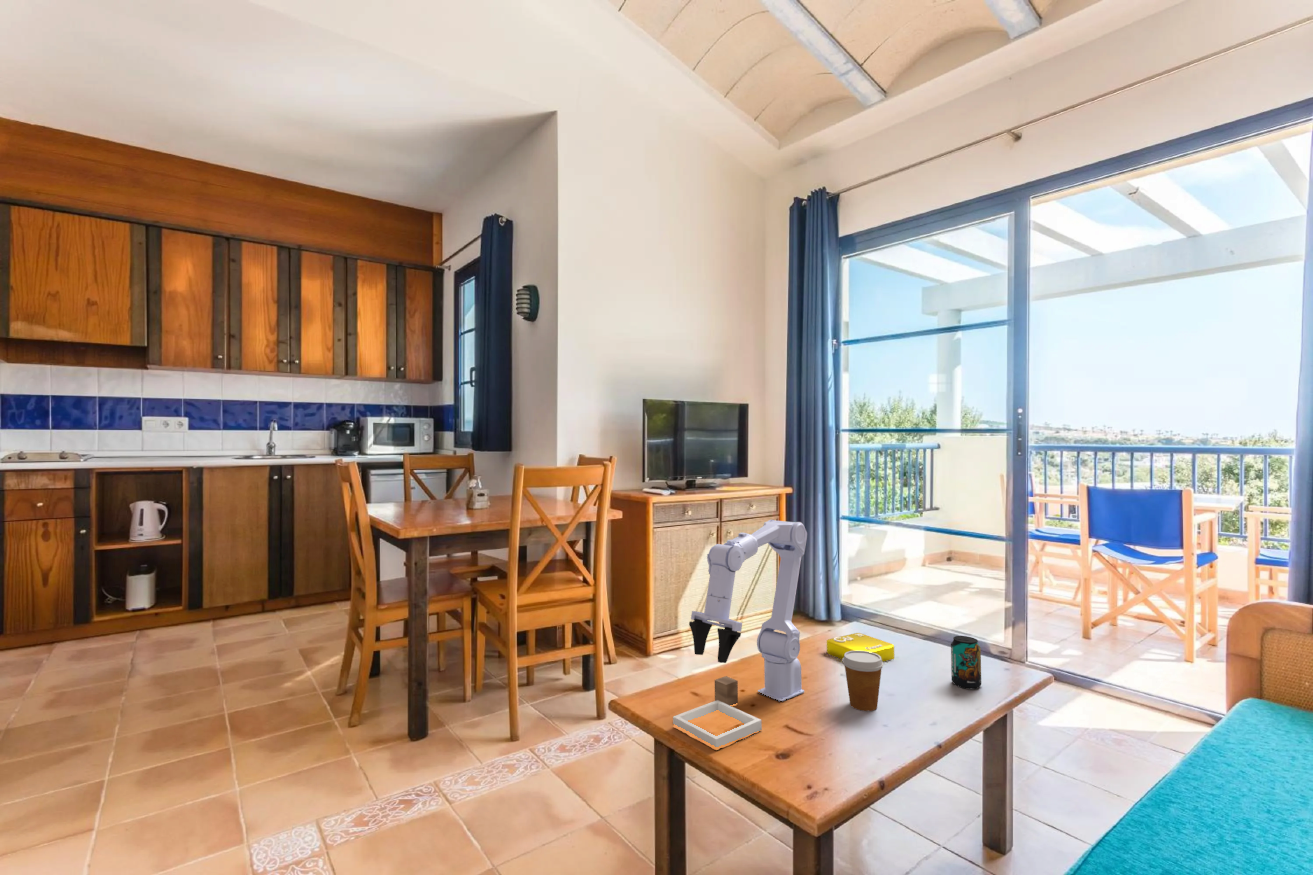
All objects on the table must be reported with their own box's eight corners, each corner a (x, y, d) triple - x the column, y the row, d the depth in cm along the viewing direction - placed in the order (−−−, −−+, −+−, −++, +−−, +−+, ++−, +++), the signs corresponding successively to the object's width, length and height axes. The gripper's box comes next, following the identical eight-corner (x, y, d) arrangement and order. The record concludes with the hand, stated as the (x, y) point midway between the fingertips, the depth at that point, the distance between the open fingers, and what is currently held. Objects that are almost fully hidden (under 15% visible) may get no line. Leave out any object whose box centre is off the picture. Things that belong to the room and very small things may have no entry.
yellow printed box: (861, 669, 173) (861, 652, 173) (823, 653, 186) (823, 638, 186) (897, 659, 180) (897, 643, 180) (858, 645, 194) (858, 630, 194)
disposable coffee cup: (857, 716, 142) (857, 664, 142) (835, 700, 151) (834, 651, 151) (892, 711, 144) (891, 660, 145) (868, 695, 154) (867, 648, 154)
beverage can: (978, 692, 155) (977, 645, 155) (949, 685, 159) (948, 640, 159) (983, 683, 160) (982, 637, 161) (954, 677, 165) (953, 633, 165)
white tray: (717, 710, 146) (717, 699, 146) (761, 731, 135) (761, 719, 135) (673, 727, 137) (672, 716, 137) (716, 751, 126) (716, 739, 126)
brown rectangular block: (726, 699, 152) (726, 675, 152) (737, 705, 149) (737, 680, 149) (714, 704, 150) (714, 679, 150) (726, 709, 146) (726, 684, 147)
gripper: (685, 590, 143) (676, 650, 140) (729, 600, 131) (720, 665, 129) (706, 593, 147) (698, 651, 144) (751, 603, 135) (742, 666, 133)
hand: (710, 658), depth 137 cm, fingers open, 7 cm apart
